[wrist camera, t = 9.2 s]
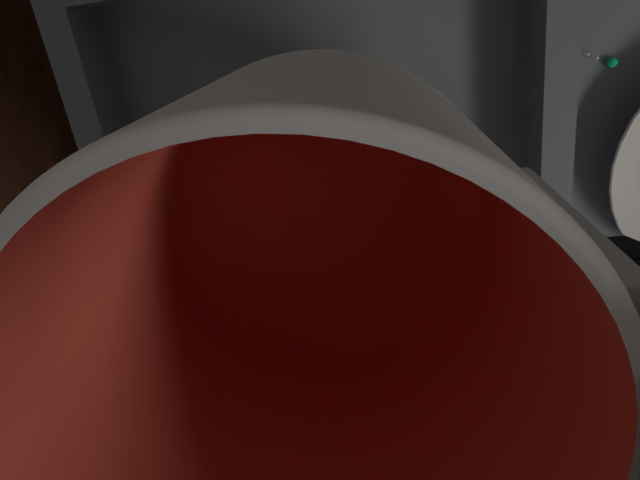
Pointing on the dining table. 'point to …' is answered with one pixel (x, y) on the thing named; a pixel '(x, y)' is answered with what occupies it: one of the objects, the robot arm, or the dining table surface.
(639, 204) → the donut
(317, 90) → the cup
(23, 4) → the dining table surface
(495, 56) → the carrier tray
